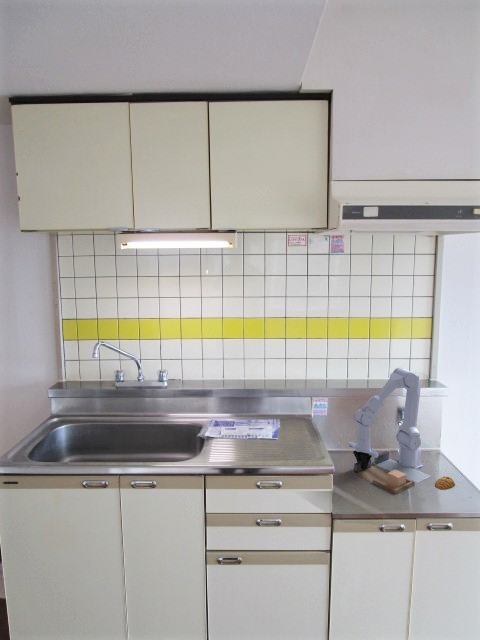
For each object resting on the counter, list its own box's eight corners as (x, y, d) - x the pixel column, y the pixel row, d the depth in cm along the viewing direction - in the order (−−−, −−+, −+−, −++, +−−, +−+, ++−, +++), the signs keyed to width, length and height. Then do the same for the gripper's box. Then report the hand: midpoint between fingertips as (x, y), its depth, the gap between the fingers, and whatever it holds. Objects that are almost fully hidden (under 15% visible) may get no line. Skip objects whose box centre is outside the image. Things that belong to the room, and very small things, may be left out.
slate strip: (386, 460, 197) (387, 449, 196) (431, 479, 178) (431, 467, 178) (372, 466, 191) (372, 455, 190) (416, 486, 173) (417, 474, 172)
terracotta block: (395, 481, 174) (395, 469, 174) (405, 486, 170) (406, 474, 170) (387, 484, 171) (387, 472, 171) (398, 490, 167) (398, 477, 167)
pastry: (447, 496, 166) (447, 486, 165) (429, 490, 171) (429, 480, 170) (457, 488, 172) (457, 478, 171) (439, 482, 177) (440, 473, 176)
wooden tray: (369, 468, 189) (370, 457, 189) (414, 488, 171) (414, 476, 170) (351, 475, 182) (351, 464, 182) (395, 497, 164) (396, 485, 164)
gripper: (343, 434, 187) (343, 464, 188) (370, 445, 175) (370, 477, 177) (354, 430, 191) (354, 460, 192) (381, 441, 179) (381, 472, 180)
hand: (362, 468), depth 185 cm, fingers closed on wooden tray, 2 cm apart
